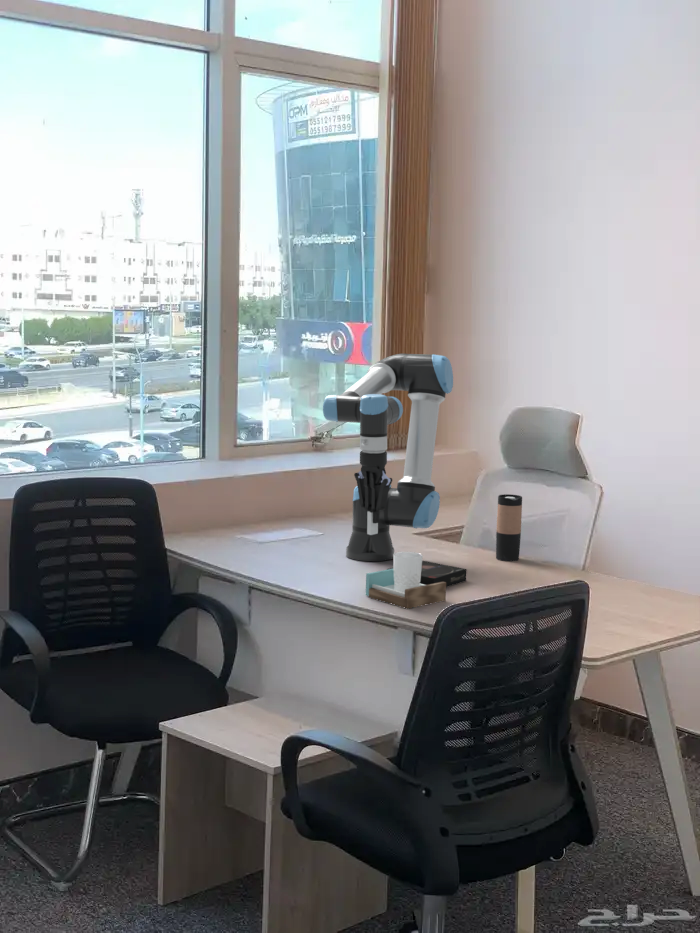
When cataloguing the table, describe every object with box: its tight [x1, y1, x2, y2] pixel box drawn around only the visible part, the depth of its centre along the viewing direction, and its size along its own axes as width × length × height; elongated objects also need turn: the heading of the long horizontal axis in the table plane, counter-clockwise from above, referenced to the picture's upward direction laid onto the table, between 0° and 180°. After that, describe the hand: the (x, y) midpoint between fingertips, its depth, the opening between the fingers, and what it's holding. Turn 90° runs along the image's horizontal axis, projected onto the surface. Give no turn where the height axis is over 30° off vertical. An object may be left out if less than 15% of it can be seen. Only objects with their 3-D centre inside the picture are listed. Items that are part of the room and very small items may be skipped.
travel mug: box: [495, 493, 523, 562], centre depth 366 cm, size 8×8×20 cm
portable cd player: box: [386, 560, 467, 588], centre depth 335 cm, size 16×17×4 cm
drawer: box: [368, 582, 447, 610], centre depth 314 cm, size 14×15×5 cm
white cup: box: [392, 551, 424, 593], centre depth 314 cm, size 8×8×10 cm
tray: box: [365, 568, 424, 597], centre depth 315 cm, size 14×15×6 cm
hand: (372, 533), depth 326 cm, fingers closed
